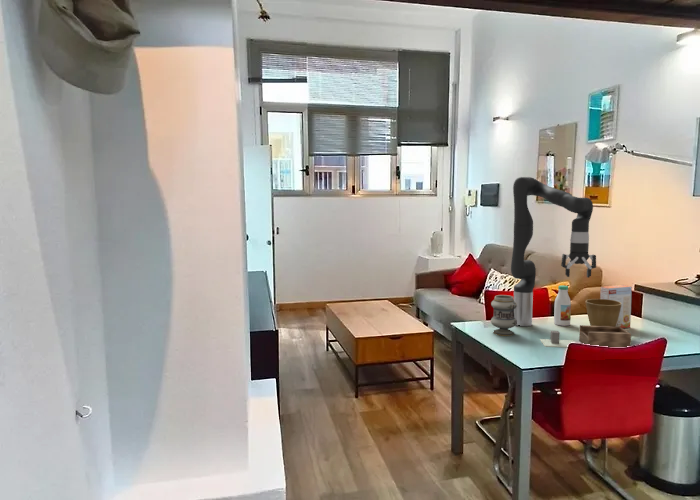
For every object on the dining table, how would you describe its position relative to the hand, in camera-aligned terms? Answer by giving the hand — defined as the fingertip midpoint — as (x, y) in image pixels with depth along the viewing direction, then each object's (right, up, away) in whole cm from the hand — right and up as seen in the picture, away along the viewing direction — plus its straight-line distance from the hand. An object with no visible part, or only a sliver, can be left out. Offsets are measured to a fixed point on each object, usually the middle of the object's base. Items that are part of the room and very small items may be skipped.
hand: (578, 277), depth 217 cm
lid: (-12, -30, -7) cm, 33 cm away
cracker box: (+28, -27, +20) cm, 44 cm away
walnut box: (+6, -29, -10) cm, 32 cm away
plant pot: (+14, -28, +7) cm, 32 cm away
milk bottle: (+5, -26, +28) cm, 38 cm away
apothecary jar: (-30, -28, +12) cm, 43 cm away
